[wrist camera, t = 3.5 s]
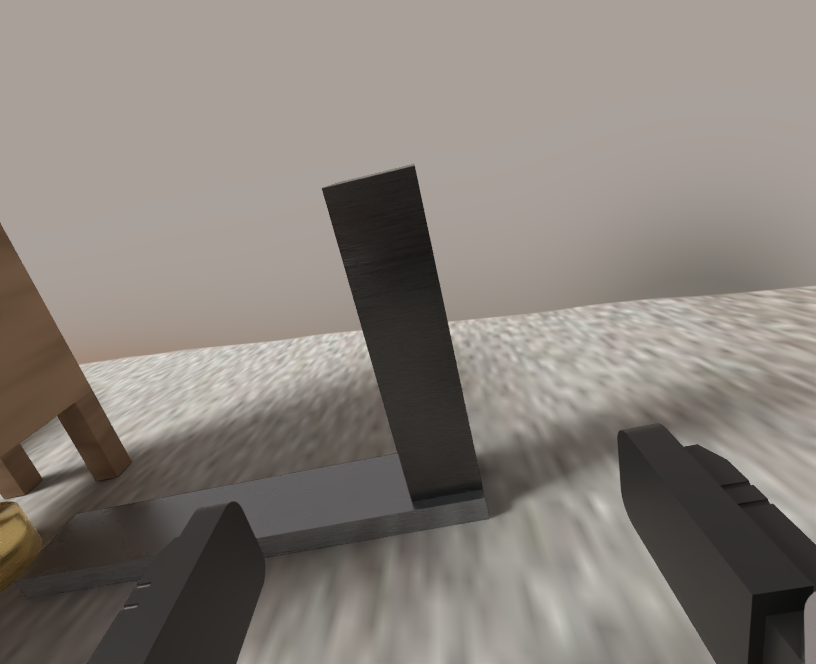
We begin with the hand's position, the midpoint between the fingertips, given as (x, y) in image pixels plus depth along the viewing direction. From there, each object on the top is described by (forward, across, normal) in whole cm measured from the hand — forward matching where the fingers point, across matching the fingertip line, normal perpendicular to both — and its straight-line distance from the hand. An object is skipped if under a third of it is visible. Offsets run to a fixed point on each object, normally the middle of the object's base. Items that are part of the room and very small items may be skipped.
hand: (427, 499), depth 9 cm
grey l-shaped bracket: (+9, +9, +8) cm, 15 cm away
